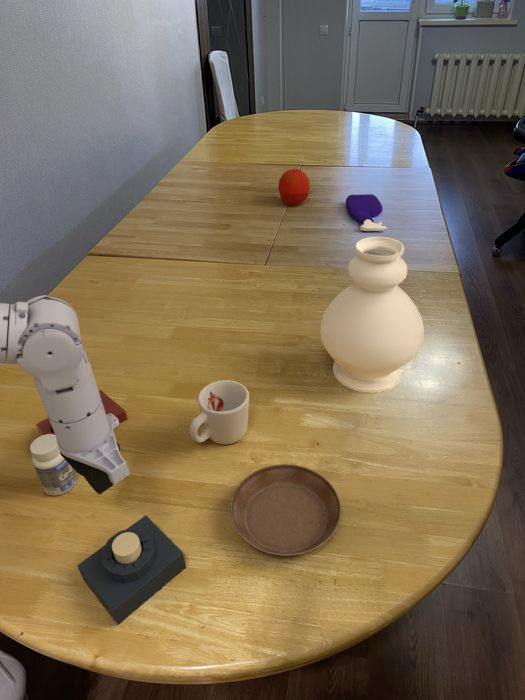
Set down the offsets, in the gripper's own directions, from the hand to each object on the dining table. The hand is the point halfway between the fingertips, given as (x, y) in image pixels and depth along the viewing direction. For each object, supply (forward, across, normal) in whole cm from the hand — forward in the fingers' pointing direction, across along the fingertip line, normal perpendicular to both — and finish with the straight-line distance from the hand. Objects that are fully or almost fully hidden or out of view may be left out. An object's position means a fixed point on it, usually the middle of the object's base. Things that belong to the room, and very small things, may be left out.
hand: (103, 487), depth 64 cm
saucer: (+10, -14, -17) cm, 25 cm away
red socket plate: (+9, +22, -7) cm, 25 cm away
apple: (+11, +67, -108) cm, 127 cm away
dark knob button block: (+9, -7, +2) cm, 12 cm away
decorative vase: (+10, -3, -51) cm, 52 cm away
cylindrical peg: (+5, -7, +2) cm, 8 cm away
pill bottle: (+9, +14, +2) cm, 17 cm away
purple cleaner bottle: (+11, +42, -113) cm, 121 cm away
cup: (+10, +4, -21) cm, 23 cm away
